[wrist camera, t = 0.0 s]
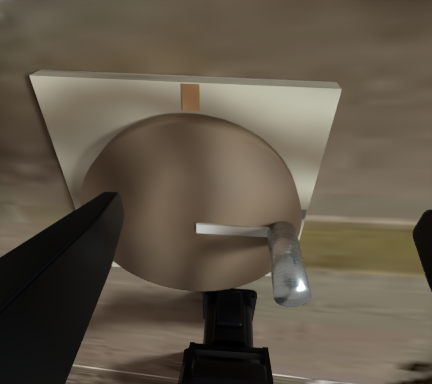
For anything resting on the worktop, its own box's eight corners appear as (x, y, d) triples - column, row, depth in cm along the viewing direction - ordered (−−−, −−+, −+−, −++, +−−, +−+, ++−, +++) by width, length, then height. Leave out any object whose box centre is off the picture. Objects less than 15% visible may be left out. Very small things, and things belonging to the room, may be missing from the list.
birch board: (286, 266, 33) (288, 278, 31) (100, 254, 33) (94, 266, 32) (335, 81, 20) (342, 89, 19) (40, 69, 21) (28, 75, 20)
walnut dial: (112, 269, 32) (80, 345, 25) (63, 107, 21) (-13, 168, 14) (279, 279, 31) (290, 359, 25) (320, 119, 20) (359, 188, 14)
